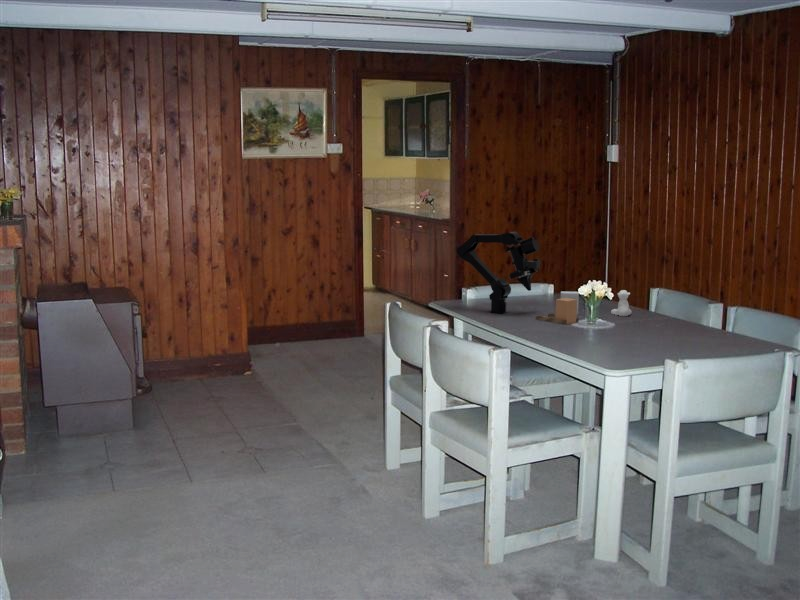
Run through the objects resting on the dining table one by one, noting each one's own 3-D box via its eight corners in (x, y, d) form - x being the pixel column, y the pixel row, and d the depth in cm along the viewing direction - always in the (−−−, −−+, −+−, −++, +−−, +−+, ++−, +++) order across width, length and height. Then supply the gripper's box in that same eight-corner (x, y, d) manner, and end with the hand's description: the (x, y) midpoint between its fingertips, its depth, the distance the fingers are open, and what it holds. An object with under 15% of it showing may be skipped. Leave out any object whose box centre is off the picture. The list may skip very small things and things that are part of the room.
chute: (535, 321, 387) (535, 315, 386) (549, 318, 393) (549, 312, 393) (568, 327, 374) (569, 321, 373) (582, 324, 380) (582, 318, 380)
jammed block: (555, 322, 381) (556, 299, 379) (565, 320, 385) (565, 297, 384) (566, 324, 376) (567, 301, 375) (576, 322, 381) (577, 299, 379)
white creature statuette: (631, 313, 409) (632, 288, 407) (635, 317, 401) (636, 291, 399) (610, 313, 409) (612, 288, 407) (614, 316, 401) (615, 291, 399)
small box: (576, 313, 408) (578, 291, 406) (578, 315, 402) (579, 293, 400) (559, 313, 408) (560, 291, 407) (560, 315, 403) (561, 292, 401)
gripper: (525, 254, 387) (536, 287, 387) (542, 250, 403) (553, 282, 402) (504, 262, 394) (515, 295, 393) (521, 258, 409) (532, 290, 408)
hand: (529, 290), depth 399 cm, fingers closed
